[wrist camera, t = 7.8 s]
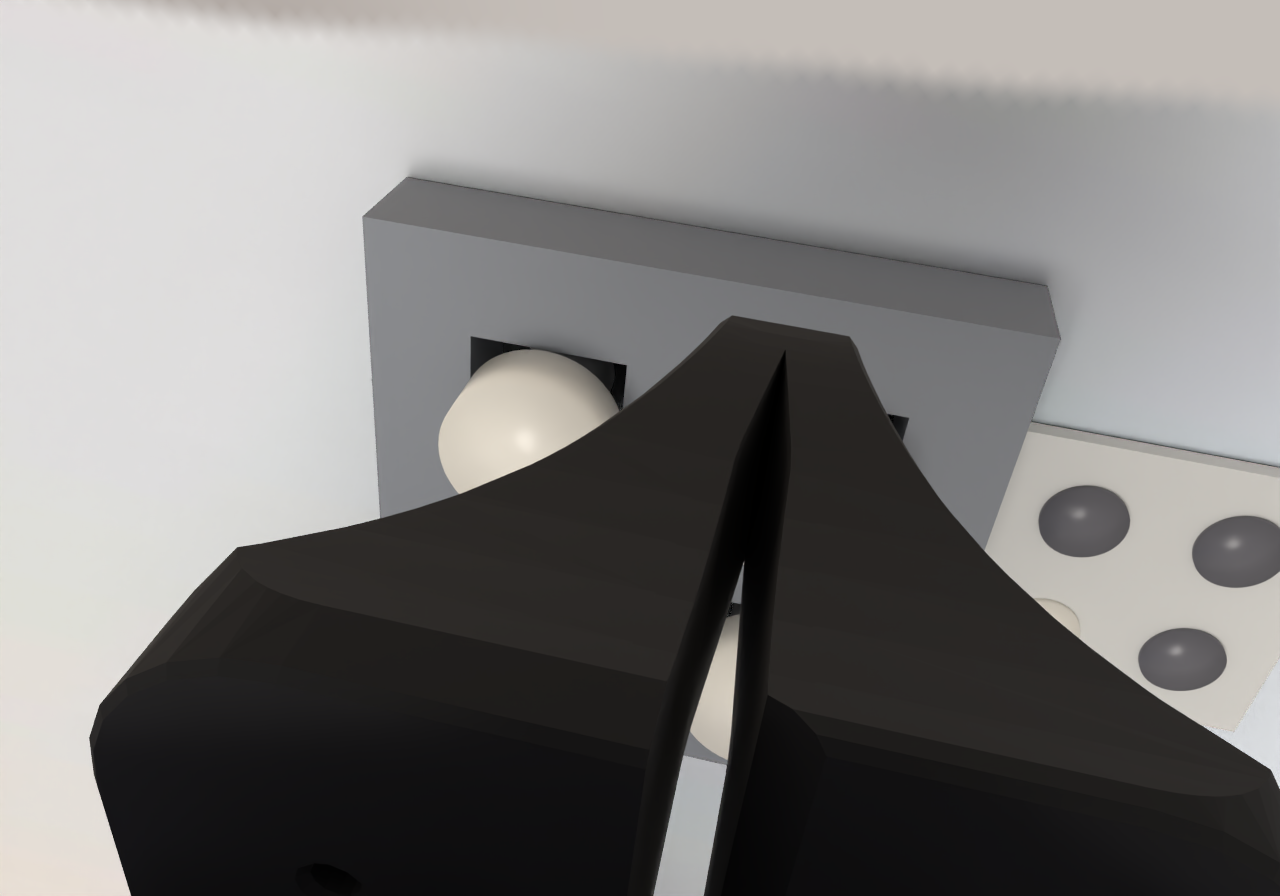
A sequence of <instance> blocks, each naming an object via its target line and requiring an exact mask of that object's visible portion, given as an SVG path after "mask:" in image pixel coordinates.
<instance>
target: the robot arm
mask: <svg viewBox="0 0 1280 896" xmlns="http://www.w3.org/2000/svg"><path fill="white" fill-rule="evenodd" d="M743 563H744V569H743V582H742V595H741V607H740V620H739V633H738V647H737V660H736V673H735V686H734V699H733V712H732V726H731V737H730V745H729V753H728V761H727V769H726V776H725V782H724V787H723V793H722V798H721V804H720V809H719V815H718V821H717V826H716V832H715V837H714V843H713V848H712V854H711V859H710V865H709V871H708V876H707V882H706V887H705V893H704V896H1280V789H1279V787H1278V785H1277V782H1276V780H1275V778H1274V776H1273V773H1272V771H1271V770H1270V769H1269V768H1267V767H1266V766H1264V765H1262V764H1261V763H1259V762H1258V761H1256V760H1255V759H1253V758H1251V757H1250V756H1248V755H1247V754H1245V753H1244V752H1242V751H1240V750H1239V749H1237V748H1236V747H1234V746H1233V745H1231V744H1229V743H1228V742H1226V741H1225V740H1223V739H1222V738H1220V737H1219V736H1217V735H1215V734H1214V733H1212V732H1211V731H1209V730H1208V729H1206V728H1204V727H1203V726H1201V725H1200V724H1198V723H1197V722H1195V721H1193V720H1192V719H1190V718H1189V717H1187V716H1186V715H1184V714H1182V713H1181V712H1179V711H1178V710H1176V709H1175V708H1173V707H1171V706H1170V705H1168V704H1167V703H1165V702H1164V701H1162V700H1161V699H1159V698H1158V697H1156V696H1155V695H1153V694H1152V693H1150V692H1149V691H1148V690H1146V689H1145V688H1143V687H1142V686H1141V685H1139V684H1138V683H1137V682H1135V681H1134V680H1133V679H1131V678H1130V677H1129V676H1127V675H1126V674H1125V673H1123V672H1122V671H1121V670H1119V669H1118V668H1117V667H1115V666H1114V665H1113V664H1111V663H1110V662H1109V661H1107V660H1106V659H1105V658H1103V657H1102V656H1101V655H1099V654H1098V653H1097V652H1095V651H1094V650H1093V649H1091V648H1090V647H1089V646H1088V645H1086V644H1085V643H1084V642H1083V641H1082V640H1080V639H1079V638H1078V637H1077V636H1076V635H1074V634H1073V633H1072V632H1071V631H1069V630H1068V629H1067V628H1066V627H1065V626H1063V625H1062V624H1061V623H1060V622H1059V621H1057V620H1056V619H1055V618H1054V617H1053V616H1052V615H1051V614H1049V613H1048V612H1047V611H1046V610H1045V609H1044V608H1043V607H1042V606H1041V605H1040V604H1039V603H1037V602H1036V601H1035V600H1034V599H1033V598H1032V597H1031V596H1030V595H1029V594H1028V593H1027V592H1026V591H1024V590H1023V589H1022V588H1021V587H1020V586H1019V585H1018V584H1017V583H1016V582H1015V581H1014V580H1013V579H1011V578H1010V577H1009V576H1008V575H1007V574H1006V573H1005V572H1004V571H1003V570H1002V569H1001V568H1000V567H999V566H998V564H997V563H996V562H995V561H994V560H993V559H992V558H991V557H990V556H989V555H988V554H987V553H986V552H985V551H984V550H983V549H982V548H981V546H980V545H979V544H978V543H977V542H976V541H975V540H974V538H973V537H972V536H971V535H970V534H969V533H968V532H967V530H966V529H965V528H964V527H963V526H962V525H961V524H960V522H959V521H958V520H957V519H956V518H955V517H954V516H953V514H952V513H951V512H950V511H949V509H948V508H947V507H946V506H945V504H944V503H943V502H942V501H941V499H940V498H939V497H938V495H937V494H936V492H935V491H934V489H933V488H932V486H931V485H930V484H929V482H928V481H927V479H926V478H925V476H924V475H923V473H922V472H921V471H920V469H919V467H918V466H917V464H916V463H915V461H914V459H913V458H912V456H911V455H910V453H909V452H908V450H907V448H906V446H905V445H904V443H903V441H902V439H901V438H900V436H899V434H898V432H897V431H896V429H895V427H894V425H893V424H892V422H891V420H890V418H889V417H888V415H887V413H886V411H885V409H884V407H883V405H882V403H881V401H880V399H879V397H878V395H877V393H876V391H875V389H874V387H873V385H872V383H871V380H870V378H869V376H868V374H867V371H866V369H865V367H864V364H863V362H862V359H861V356H860V354H859V351H858V348H857V347H856V345H855V344H854V342H853V341H852V339H851V338H850V336H845V335H840V334H834V333H829V332H823V331H817V330H812V329H806V328H801V327H795V326H789V325H784V324H778V323H773V322H767V321H761V320H756V319H750V318H745V317H739V316H733V315H732V316H730V317H729V318H727V319H725V320H724V321H722V322H721V323H719V325H718V326H717V327H716V328H715V329H714V330H713V331H712V332H711V333H710V335H709V336H708V337H707V338H706V339H705V340H704V341H703V342H702V343H701V344H700V345H699V346H698V347H697V348H696V349H695V350H694V351H692V352H691V353H690V354H689V355H688V356H687V357H686V358H685V359H684V360H683V361H682V362H681V363H680V364H678V365H677V366H676V367H675V368H674V369H673V370H671V371H670V372H669V373H668V374H667V375H665V376H664V377H663V378H662V379H661V380H660V381H658V382H657V383H656V384H655V385H654V386H652V387H651V388H650V389H649V390H648V391H646V392H645V393H644V394H643V395H641V396H640V397H639V398H637V399H636V400H635V401H633V402H632V403H630V404H629V405H628V406H626V407H625V408H623V409H622V410H621V411H619V412H618V413H616V414H615V415H614V416H612V417H611V418H609V419H608V420H607V421H605V422H604V423H602V424H601V425H600V426H598V427H597V428H595V429H593V430H592V431H590V432H589V433H587V434H586V435H584V436H582V437H581V438H579V439H578V440H576V441H574V442H573V443H571V444H569V445H567V446H566V447H564V448H562V449H560V450H558V451H556V452H555V453H553V454H551V455H549V456H547V457H545V458H543V459H541V460H539V461H537V462H535V463H533V464H531V465H529V466H526V467H524V468H521V469H519V470H517V471H514V472H512V473H509V474H507V475H505V476H502V477H500V478H497V479H495V480H493V481H490V482H488V483H485V484H483V485H481V486H478V487H476V488H473V489H471V490H468V491H466V492H464V493H461V494H458V495H455V496H452V497H449V498H446V499H443V500H440V501H437V502H434V503H431V504H428V505H425V506H422V507H419V508H416V509H412V510H409V511H405V512H401V513H398V514H394V515H391V516H387V517H384V518H380V519H377V520H373V521H369V522H365V523H361V524H357V525H352V526H348V527H344V528H339V529H334V530H329V531H323V532H318V533H313V534H308V535H303V536H298V537H293V538H288V539H283V540H278V541H273V542H267V543H262V544H256V545H249V546H243V547H237V548H236V549H235V550H234V551H233V552H232V553H231V554H230V555H229V556H228V557H227V558H226V559H225V560H224V561H223V562H222V563H221V564H220V565H219V566H218V567H217V568H216V569H215V570H214V571H213V573H212V574H211V575H210V576H209V577H208V578H207V579H206V580H205V581H204V582H203V583H202V584H201V585H200V586H199V587H198V588H197V589H196V590H195V591H194V592H193V593H192V594H191V595H190V596H189V598H188V599H187V600H186V601H185V602H184V603H183V605H182V606H181V607H180V608H179V609H178V610H177V612H176V613H175V614H174V615H173V616H172V618H171V619H170V620H169V621H168V622H167V624H166V625H165V626H164V627H163V628H162V630H161V631H160V632H159V633H158V635H157V636H156V637H155V638H154V639H153V641H152V642H151V643H150V644H149V645H148V647H147V648H146V649H145V650H144V652H143V653H142V654H141V655H140V656H139V658H138V659H137V660H136V661H135V663H134V664H133V665H132V666H131V667H130V669H129V670H128V671H127V672H126V673H125V675H124V676H123V677H122V678H121V680H120V681H119V682H118V683H117V684H116V686H115V687H114V688H113V689H112V691H111V692H110V693H109V694H108V695H107V697H106V698H105V699H104V700H103V701H102V703H101V704H100V705H99V708H98V712H97V715H96V718H95V721H94V725H93V728H92V731H91V734H90V737H89V739H90V747H91V755H92V763H93V771H94V776H95V780H96V783H97V786H98V790H99V793H100V796H101V799H102V803H103V806H104V809H105V812H106V816H107V819H108V822H109V825H110V829H111V832H112V835H113V838H114V842H115V845H116V848H117V851H118V854H119V858H120V861H121V864H122V867H123V871H124V874H125V877H126V880H127V884H128V887H129V890H130V893H131V896H653V894H654V889H655V884H656V880H657V875H658V870H659V865H660V861H661V856H662V851H663V847H664V842H665V837H666V832H667V828H668V823H669V818H670V814H671V809H672V804H673V799H674V795H675V790H676V785H677V781H678V776H679V771H680V767H681V762H682V758H683V755H684V751H685V747H686V744H687V740H688V736H689V733H690V729H691V725H692V722H693V719H694V716H695V713H696V710H697V707H698V704H699V700H700V697H701V694H702V691H703V688H704V685H705V682H706V679H707V676H708V673H709V669H710V666H711V663H712V660H713V657H714V654H715V651H716V648H717V645H718V642H719V638H720V635H721V632H722V629H723V626H724V623H725V620H726V617H727V614H728V610H729V607H730V604H731V601H732V598H733V595H734V592H735V589H736V585H737V582H738V579H739V576H740V573H741V570H742V567H743Z"/></svg>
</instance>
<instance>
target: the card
mask: <svg viewBox="0 0 1280 896" xmlns="http://www.w3.org/2000/svg"><path fill="white" fill-rule="evenodd" d="M985 552H986V553H987V554H988V555H989V556H990V557H991V558H992V559H993V560H994V561H995V562H996V563H997V564H998V566H999V567H1000V568H1001V569H1002V570H1003V571H1004V572H1005V573H1006V574H1007V575H1008V576H1009V577H1010V578H1011V579H1013V580H1014V581H1015V582H1016V583H1017V584H1018V585H1019V586H1020V587H1021V588H1022V589H1023V590H1024V591H1026V592H1027V593H1028V594H1029V595H1030V596H1031V597H1032V598H1033V599H1034V600H1035V601H1036V602H1037V603H1039V604H1040V605H1041V606H1042V607H1043V608H1044V609H1045V610H1046V611H1047V612H1048V613H1049V614H1051V615H1052V616H1053V617H1054V618H1055V619H1056V620H1057V621H1059V622H1060V623H1061V624H1062V625H1063V626H1065V627H1066V628H1067V629H1068V630H1069V631H1071V632H1072V633H1073V634H1074V635H1076V636H1077V637H1078V638H1079V639H1080V640H1082V641H1083V642H1084V643H1085V644H1086V645H1088V646H1089V647H1090V648H1091V649H1093V650H1094V651H1095V652H1097V653H1098V654H1099V655H1101V656H1102V657H1103V658H1105V659H1106V660H1107V661H1109V662H1110V663H1111V664H1113V665H1114V666H1115V667H1117V668H1118V669H1119V670H1121V671H1122V672H1123V673H1125V674H1126V675H1127V676H1129V677H1130V678H1131V679H1133V680H1134V681H1135V682H1137V683H1138V684H1139V685H1141V686H1142V687H1143V688H1145V689H1146V690H1148V691H1149V692H1150V693H1152V694H1153V695H1155V696H1156V697H1158V698H1159V699H1161V700H1162V701H1164V702H1165V703H1167V704H1168V705H1170V706H1171V707H1173V708H1175V709H1176V710H1178V711H1179V712H1181V713H1182V714H1184V715H1186V716H1187V717H1189V718H1190V719H1192V720H1193V721H1195V722H1197V723H1198V724H1200V725H1203V726H1208V727H1213V728H1217V729H1222V730H1227V731H1232V732H1234V731H1235V730H1236V728H1237V726H1238V725H1239V723H1240V722H1241V720H1242V718H1243V717H1244V715H1245V713H1246V712H1247V710H1248V708H1249V707H1250V705H1251V704H1252V702H1253V700H1254V699H1255V697H1256V695H1257V694H1258V692H1259V690H1260V689H1261V687H1262V686H1263V684H1264V682H1265V681H1266V679H1267V677H1268V676H1269V674H1270V673H1271V671H1272V669H1273V668H1274V666H1275V664H1276V663H1277V661H1278V659H1279V658H1280V468H1278V467H1273V466H1267V465H1262V464H1256V463H1251V462H1245V461H1240V460H1235V459H1229V458H1224V457H1218V456H1213V455H1207V454H1202V453H1197V452H1191V451H1186V450H1180V449H1175V448H1170V447H1164V446H1159V445H1153V444H1148V443H1142V442H1137V441H1132V440H1126V439H1121V438H1115V437H1110V436H1104V435H1099V434H1094V433H1088V432H1083V431H1077V430H1072V429H1067V428H1061V427H1056V426H1050V425H1045V424H1039V423H1034V422H1031V423H1030V426H1029V429H1028V431H1027V434H1026V437H1025V440H1024V442H1023V445H1022V448H1021V451H1020V454H1019V456H1018V459H1017V462H1016V465H1015V467H1014V470H1013V473H1012V476H1011V478H1010V481H1009V484H1008V487H1007V490H1006V492H1005V495H1004V498H1003V501H1002V503H1001V506H1000V509H999V512H998V515H997V517H996V520H995V523H994V526H993V528H992V531H991V534H990V537H989V539H988V542H987V545H986V548H985Z"/></svg>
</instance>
